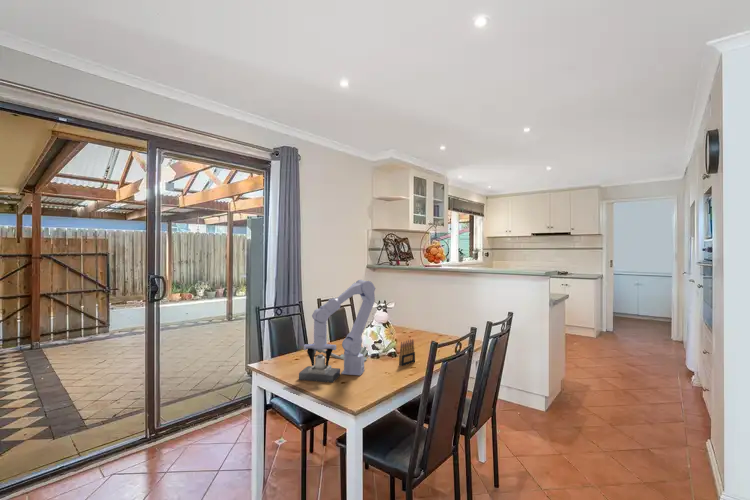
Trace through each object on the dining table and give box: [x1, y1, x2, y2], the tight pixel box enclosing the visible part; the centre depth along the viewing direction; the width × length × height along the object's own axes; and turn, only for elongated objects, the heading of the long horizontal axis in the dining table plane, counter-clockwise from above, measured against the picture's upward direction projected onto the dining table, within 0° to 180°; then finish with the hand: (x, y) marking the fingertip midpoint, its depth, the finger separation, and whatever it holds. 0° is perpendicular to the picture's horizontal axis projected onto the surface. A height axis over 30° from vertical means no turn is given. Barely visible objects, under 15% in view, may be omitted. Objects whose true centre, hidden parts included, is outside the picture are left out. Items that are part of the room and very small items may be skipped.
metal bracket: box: [339, 346, 369, 362], centre depth 195 cm, size 14×6×15 cm
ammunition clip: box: [398, 338, 416, 367], centre depth 184 cm, size 11×2×12 cm, turn 135°
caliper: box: [312, 342, 341, 360], centre depth 197 cm, size 20×1×6 cm, turn 60°
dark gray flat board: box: [298, 364, 341, 384], centre depth 162 cm, size 16×10×4 cm, turn 78°
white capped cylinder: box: [314, 353, 326, 370], centre depth 163 cm, size 4×4×7 cm
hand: (320, 365), depth 162 cm, fingers open, 6 cm apart
